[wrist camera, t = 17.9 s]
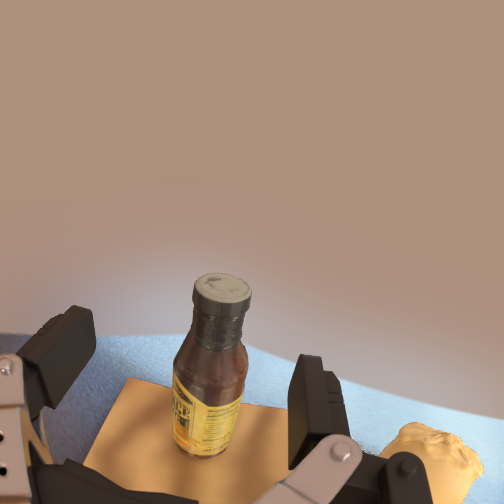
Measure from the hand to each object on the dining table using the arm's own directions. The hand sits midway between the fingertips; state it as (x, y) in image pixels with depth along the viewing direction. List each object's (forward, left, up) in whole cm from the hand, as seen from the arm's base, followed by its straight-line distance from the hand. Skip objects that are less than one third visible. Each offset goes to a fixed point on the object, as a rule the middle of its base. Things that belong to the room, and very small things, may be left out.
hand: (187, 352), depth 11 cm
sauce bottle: (0, -11, -22) cm, 25 cm away
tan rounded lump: (-22, -4, -23) cm, 32 cm away
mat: (0, -10, -23) cm, 25 cm away
